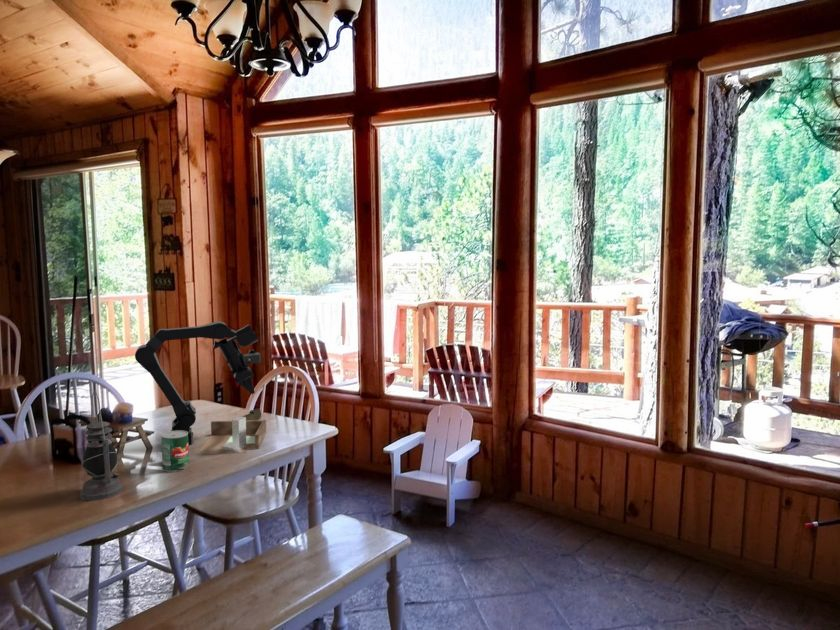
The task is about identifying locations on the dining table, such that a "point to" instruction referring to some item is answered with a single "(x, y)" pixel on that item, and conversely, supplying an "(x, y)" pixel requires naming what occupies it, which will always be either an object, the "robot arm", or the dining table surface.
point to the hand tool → (253, 415)
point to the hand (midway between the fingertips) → (252, 390)
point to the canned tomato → (174, 450)
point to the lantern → (100, 461)
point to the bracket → (237, 436)
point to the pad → (248, 440)
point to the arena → (224, 431)
